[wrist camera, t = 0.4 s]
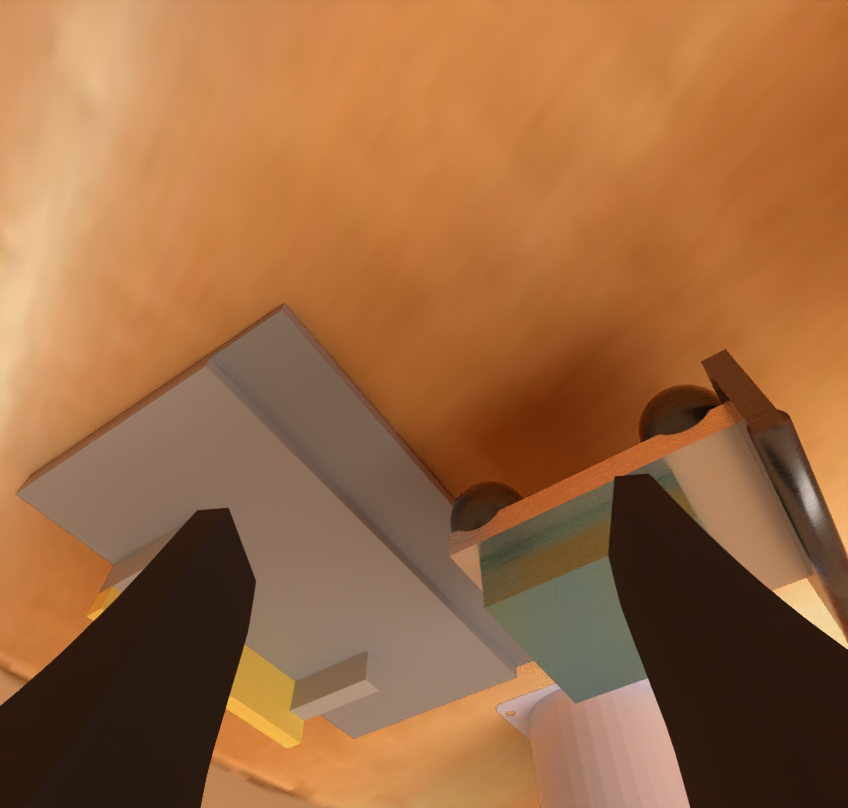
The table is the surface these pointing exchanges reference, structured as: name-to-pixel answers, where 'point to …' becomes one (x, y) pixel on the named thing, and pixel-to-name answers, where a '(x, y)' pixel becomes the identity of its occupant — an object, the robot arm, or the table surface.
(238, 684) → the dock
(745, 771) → the robot arm
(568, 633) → the toy cart
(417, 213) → the table surface
